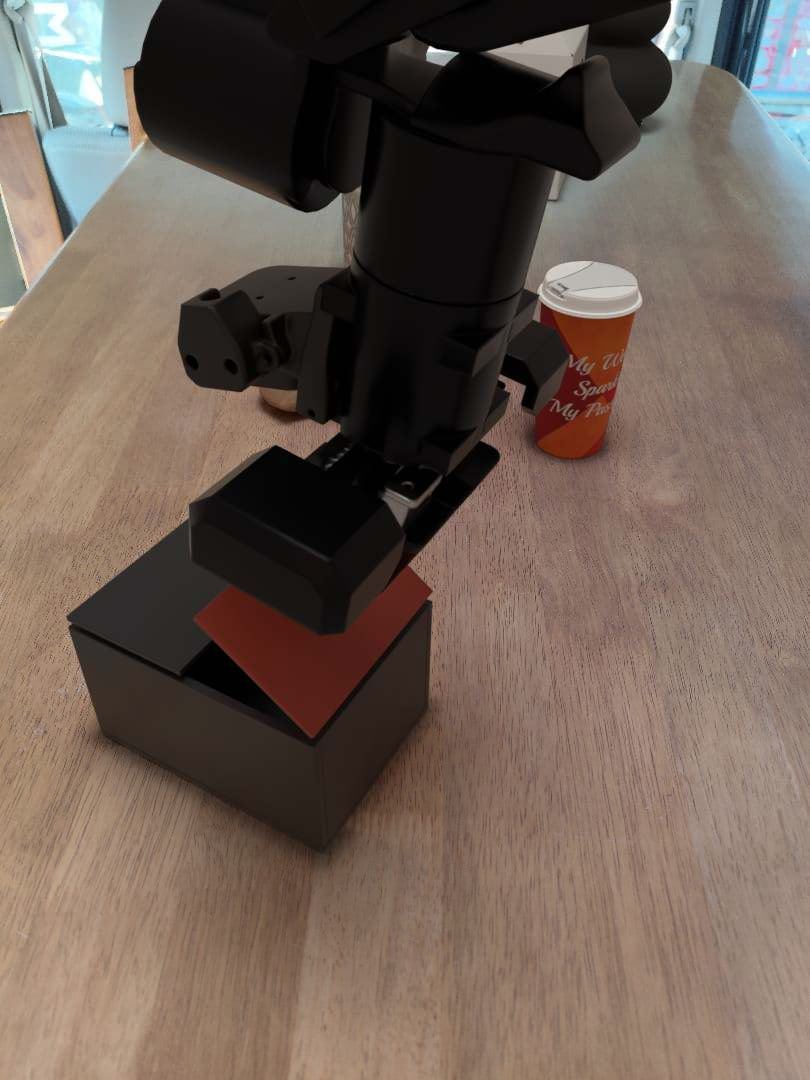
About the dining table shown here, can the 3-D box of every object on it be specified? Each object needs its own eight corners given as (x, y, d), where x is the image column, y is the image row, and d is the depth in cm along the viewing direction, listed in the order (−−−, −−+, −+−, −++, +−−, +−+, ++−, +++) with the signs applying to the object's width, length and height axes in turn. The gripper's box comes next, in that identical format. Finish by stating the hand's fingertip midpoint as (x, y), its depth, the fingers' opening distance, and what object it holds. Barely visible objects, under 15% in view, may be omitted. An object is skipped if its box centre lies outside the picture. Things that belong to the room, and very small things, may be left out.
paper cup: (558, 476, 71) (582, 309, 62) (503, 429, 76) (518, 269, 67) (635, 450, 74) (669, 287, 65) (578, 407, 79) (601, 251, 70)
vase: (682, 138, 143) (735, -136, 121) (573, 144, 140) (607, -137, 118) (635, 108, 157) (675, -142, 135) (535, 113, 154) (559, -143, 132)
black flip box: (428, 707, 52) (433, 590, 47) (323, 855, 45) (313, 737, 39) (225, 616, 58) (206, 502, 52) (101, 734, 51) (63, 616, 45)
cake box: (487, 146, 139) (501, -72, 121) (573, 153, 137) (600, -68, 119) (459, 192, 122) (470, -53, 105) (556, 201, 120) (585, -48, 102)
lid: (430, 593, 47) (433, 591, 47) (310, 739, 39) (314, 737, 39) (331, 491, 46) (334, 488, 46) (192, 619, 39) (195, 616, 39)
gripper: (379, 115, 38) (338, 414, 48) (33, 266, 25) (82, 626, 36) (623, 209, 35) (522, 505, 45) (369, 434, 22) (313, 771, 33)
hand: (374, 584), depth 40 cm, fingers closed
